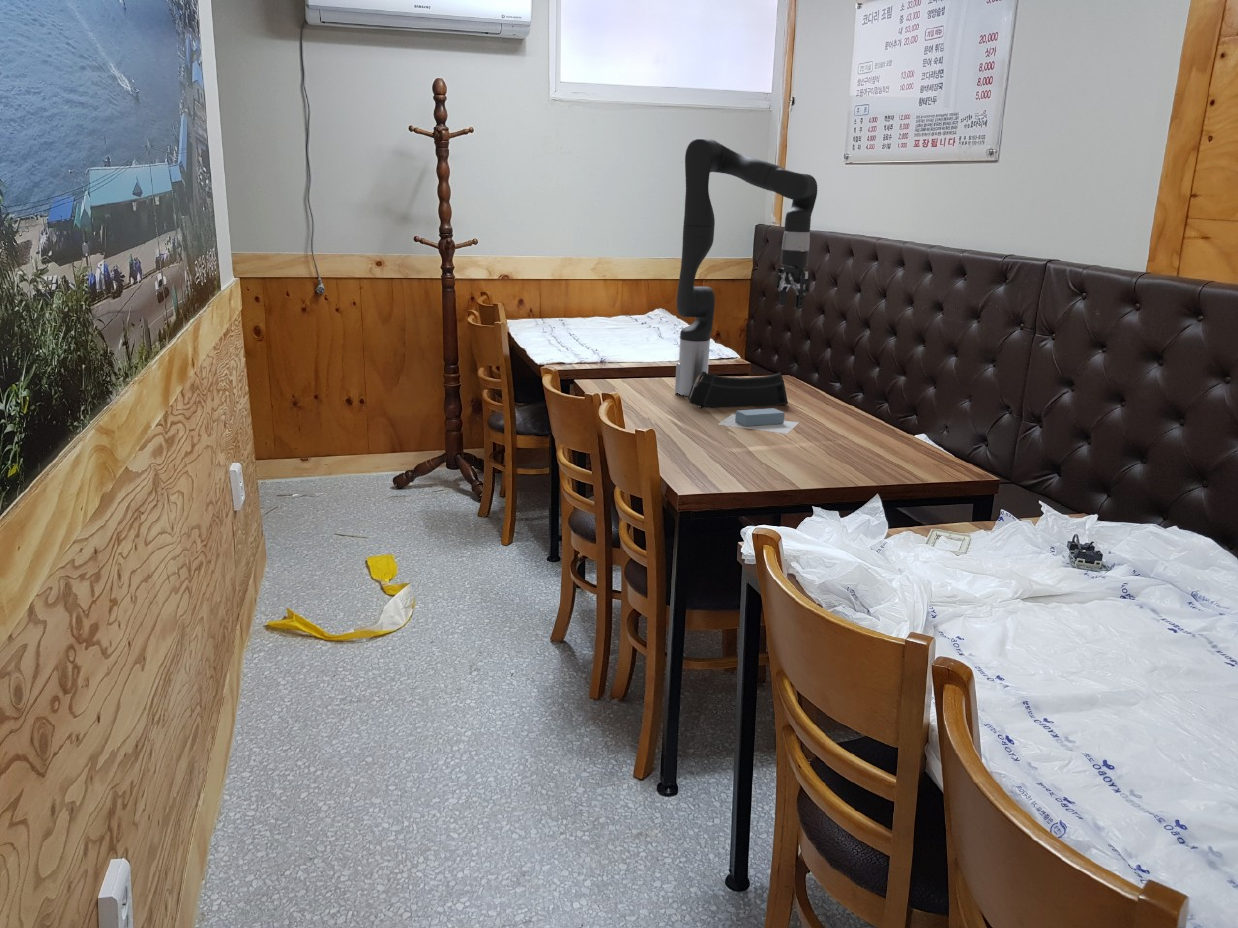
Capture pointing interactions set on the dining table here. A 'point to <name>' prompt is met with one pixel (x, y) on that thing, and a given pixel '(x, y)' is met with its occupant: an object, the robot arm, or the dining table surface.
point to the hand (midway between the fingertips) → (790, 306)
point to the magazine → (738, 391)
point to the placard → (759, 417)
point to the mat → (777, 428)
